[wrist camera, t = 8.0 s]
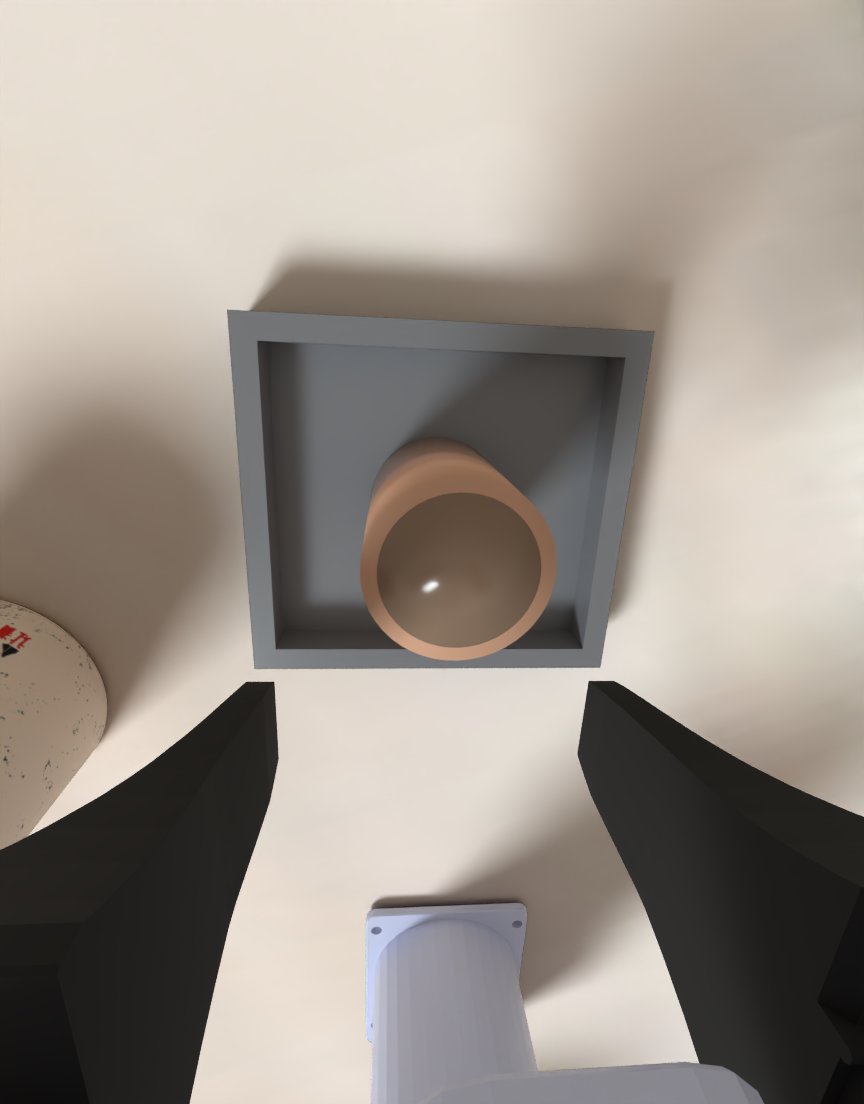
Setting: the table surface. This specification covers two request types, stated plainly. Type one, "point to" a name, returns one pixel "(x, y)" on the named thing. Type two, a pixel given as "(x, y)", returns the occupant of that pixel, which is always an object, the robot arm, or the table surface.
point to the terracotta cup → (453, 553)
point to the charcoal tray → (413, 414)
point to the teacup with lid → (42, 716)
